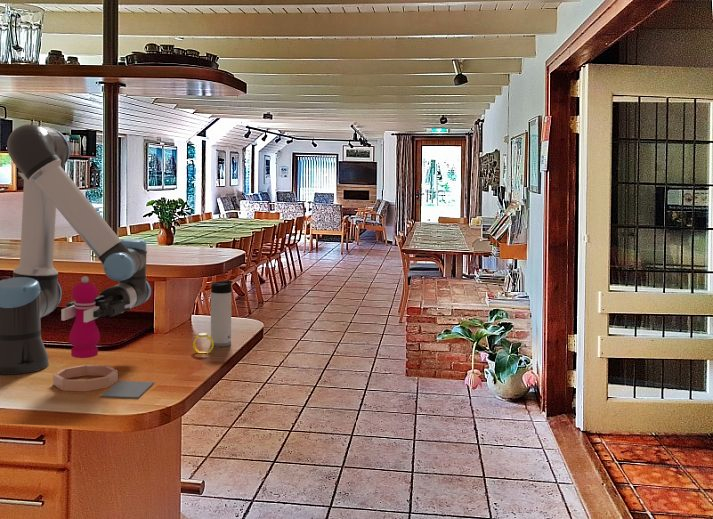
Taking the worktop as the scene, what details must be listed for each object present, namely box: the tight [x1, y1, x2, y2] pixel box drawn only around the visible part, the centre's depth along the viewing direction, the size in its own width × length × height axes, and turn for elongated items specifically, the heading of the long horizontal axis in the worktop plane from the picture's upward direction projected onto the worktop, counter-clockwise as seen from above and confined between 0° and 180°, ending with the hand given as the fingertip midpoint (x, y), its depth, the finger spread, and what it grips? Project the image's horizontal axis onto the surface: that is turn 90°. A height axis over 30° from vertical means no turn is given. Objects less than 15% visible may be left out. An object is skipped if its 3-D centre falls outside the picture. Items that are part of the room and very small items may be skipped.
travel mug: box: [210, 280, 233, 348], centre depth 218 cm, size 6×7×20 cm
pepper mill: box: [68, 275, 101, 359], centre depth 175 cm, size 7×7×20 cm
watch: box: [192, 332, 215, 355], centre depth 208 cm, size 6×3×6 cm, turn 88°
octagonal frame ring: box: [52, 364, 119, 392], centre depth 177 cm, size 14×14×2 cm
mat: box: [100, 380, 155, 400], centre depth 172 cm, size 9×12×1 cm
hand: (74, 315), depth 170 cm, fingers closed on pepper mill, 5 cm apart
